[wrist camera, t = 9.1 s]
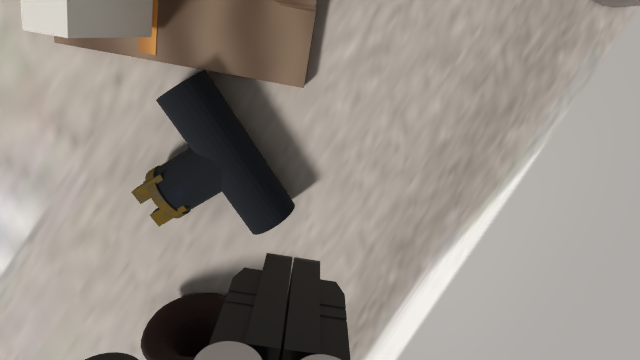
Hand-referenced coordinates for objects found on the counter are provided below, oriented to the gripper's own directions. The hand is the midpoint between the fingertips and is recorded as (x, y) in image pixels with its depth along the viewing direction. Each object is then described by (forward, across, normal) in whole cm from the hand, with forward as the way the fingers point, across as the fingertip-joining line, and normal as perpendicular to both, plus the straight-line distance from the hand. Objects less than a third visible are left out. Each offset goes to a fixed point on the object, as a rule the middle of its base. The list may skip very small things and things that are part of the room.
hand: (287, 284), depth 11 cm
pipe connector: (+30, +9, +7) cm, 32 cm away
